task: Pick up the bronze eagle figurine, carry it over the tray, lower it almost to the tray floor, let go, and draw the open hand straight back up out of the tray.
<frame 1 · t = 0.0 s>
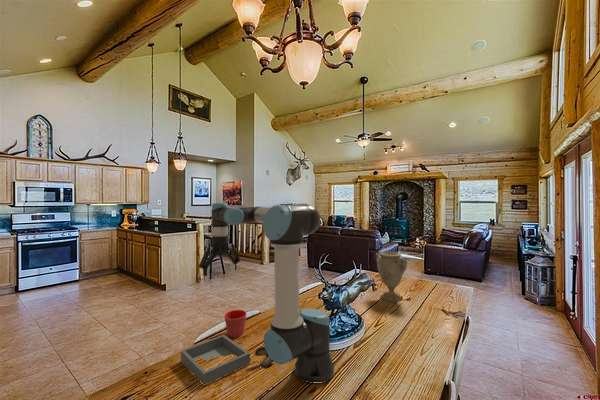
hand: (220, 279, 135), 28 cm above the table, tool pointing down, fingers open, 13 cm apart
eagle figurine: (267, 362, 116), on the table
urn: (390, 298, 187), on the table
tray: (215, 362, 115), on the table
flower pot: (235, 334, 140), on the table
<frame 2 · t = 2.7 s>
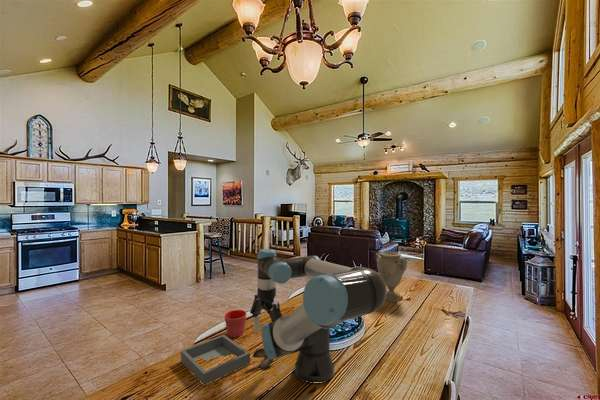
hand: (266, 337, 117), 9 cm above the table, tool pointing down, fingers open, 13 cm apart
eagle figurine: (265, 364, 115), on the table
everything else where it was.
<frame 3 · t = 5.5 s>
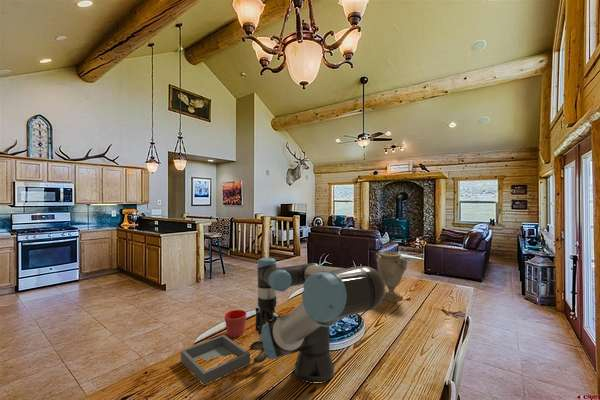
hand: (267, 352, 116), 4 cm above the table, tool pointing down, fingers closed on eagle figurine, 7 cm apart
eagle figurine: (262, 356, 114), point 3 cm above the table, touching gripper
everything else where it was.
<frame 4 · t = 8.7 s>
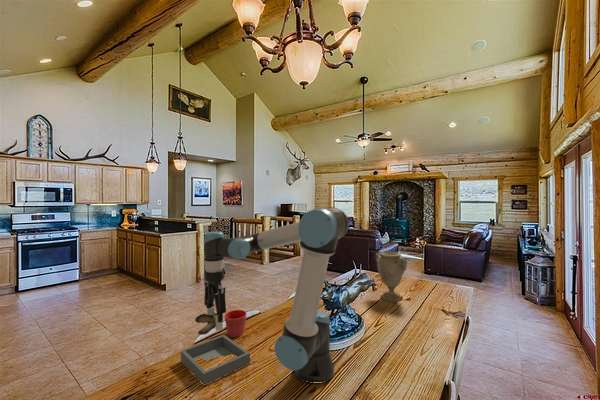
hand: (214, 326, 115), 15 cm above the table, tool pointing down, fingers closed on eagle figurine, 7 cm apart
eagle figurine: (208, 329, 113), point 15 cm above the table, touching gripper
everything else where it was.
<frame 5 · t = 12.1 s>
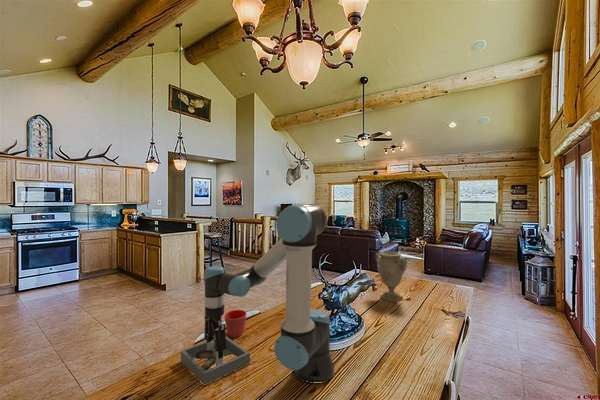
hand: (214, 361, 115), 1 cm above the table, tool pointing down, fingers closed on eagle figurine, 7 cm apart
eagle figurine: (208, 365, 113), resting on tray, touching gripper
everything else where it was.
when the fingers open (1 cm above the table, at t = 12.1 s): eagle figurine stays where it is, resting on tray.
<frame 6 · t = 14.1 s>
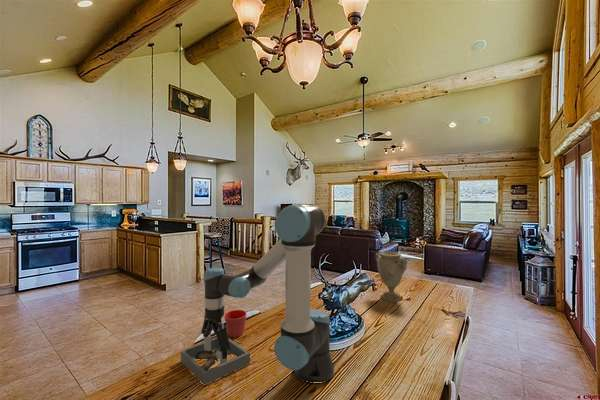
hand: (215, 358, 115), 2 cm above the table, tool pointing down, fingers open, 13 cm apart
eagle figurine: (208, 366, 113), resting on tray
everything else where it was.
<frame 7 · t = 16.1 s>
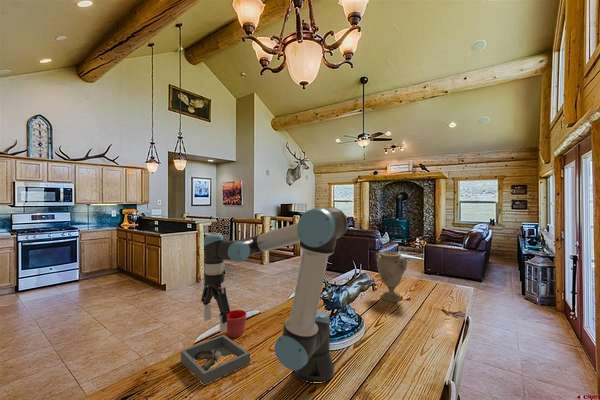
hand: (215, 325, 115), 15 cm above the table, tool pointing down, fingers open, 13 cm apart
nothing on the table moved.
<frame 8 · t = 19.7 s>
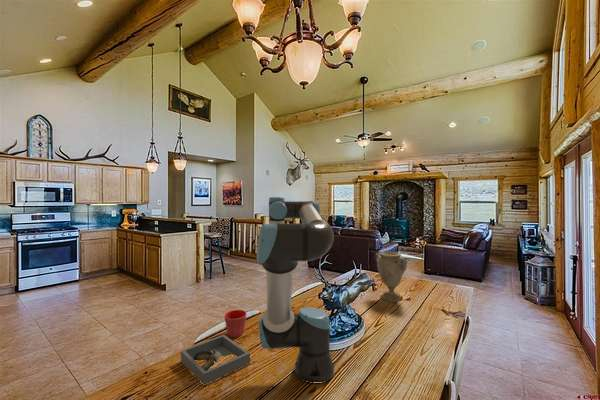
hand: (277, 274, 135), 31 cm above the table, tool pointing down, fingers open, 13 cm apart
nothing on the table moved.
at the end: eagle figurine inside the target area on the tray (3.7 cm from its centre), point 0.1 cm above the tray's base; the gripper is holding nothing; eagle figurine tilted 1° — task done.
